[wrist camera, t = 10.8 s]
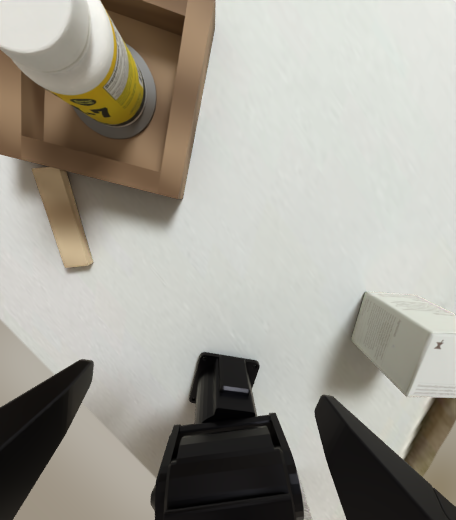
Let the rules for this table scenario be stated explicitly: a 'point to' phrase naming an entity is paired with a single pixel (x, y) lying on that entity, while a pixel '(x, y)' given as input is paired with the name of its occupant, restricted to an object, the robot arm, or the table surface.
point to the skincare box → (409, 342)
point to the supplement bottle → (75, 56)
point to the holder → (150, 121)
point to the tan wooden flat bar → (63, 216)
